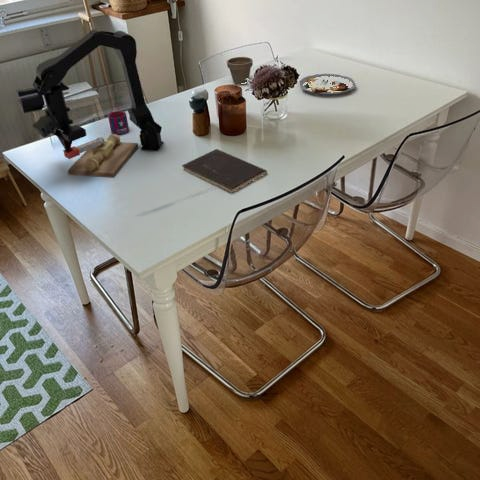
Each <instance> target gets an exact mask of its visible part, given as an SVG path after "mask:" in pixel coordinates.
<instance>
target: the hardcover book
mask: <svg viewBox="0 0 480 480" xmlns="http://www.w3.org/2000/svg"><path fill="white" fill-rule="evenodd" d="M181 167H183V170H184V171H185V170H186V171H185V172H188V173H190V174H191V173H192V174H191V175H193V174H194V175H193V176H195V175H196V177H198V178H200V179H201V180H204V181H206V180H207V181H206V182H208V183H210V184H212V185H213V186H216V185H217V186H216V187H218V186H219V187H218V188H220V187H221V188H220V189H222V188H223V189H222V190H224V189H225V190H224V191H226V190H227V191H226V192H228V191H229V192H228V193H230V192H231V193H230V194H233V193H235V192H236V191H235V190H237V189H238V190H240V189H242V188H243V187H242V186H244V185H246V184H247V185H249V184H251V183H252V182H251V181H253V180H255V179H256V180H258V179H260V178H262V177H263V176H262V175H264V174H265V175H267V174H268V173H267V172H268V170H267V169H265V168H262V167H260V166H258V165H256V164H253V163H252V162H248V161H246V160H244V159H241V158H239V157H237V156H234V155H232V154H230V153H227V152H224V151H222V150H220V149H218V148H215V149H213V150H211V151H209V152H207V153H205V154H203V155H201V156H199V157H197V158H195V159H192V160H190V161H188V162H186V163H184V164H183V165H181ZM265 175H264V176H265ZM261 176H262V177H261ZM259 177H260V178H259ZM257 178H258V179H257ZM256 180H255V181H256ZM250 182H251V183H250ZM253 182H254V181H253ZM248 183H249V184H248ZM247 185H246V186H247ZM241 187H242V188H241ZM244 187H245V186H244ZM239 188H240V189H239ZM238 190H237V191H238ZM234 191H235V192H234ZM232 192H233V193H232Z"/></svg>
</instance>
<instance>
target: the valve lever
mask: <svg viewBox="0 0 480 480" xmlns="http://www.w3.org/2000/svg"><path fill="white" fill-rule="evenodd" d="M105 141H106V140H105V138H104V137H103V136H101V137H97V138H95V139H92V140H91V141H87V142H85V143H83V144H80V145H78V146H71V148H68V149H66V150H65V149H62V152H63V155H64V158H67V160H70V159H73V158H75V157H78V156H80V155H81V153H85V152H86V151H87V150H90V149H92V148H95V147H97V146H100V145H103V144H105Z"/></svg>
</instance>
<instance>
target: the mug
mask: <svg viewBox="0 0 480 480" xmlns="http://www.w3.org/2000/svg"><path fill="white" fill-rule="evenodd" d="M127 116H128V115H127V113H126V111H123V110H117V111H109V113H108V115H107V117H108V123H109V129H110V131H111V134H116V135H118V136H122V135H126V134H128V133H129V132H130V128H129V122H128V117H127Z"/></svg>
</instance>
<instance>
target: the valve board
mask: <svg viewBox="0 0 480 480" xmlns="http://www.w3.org/2000/svg"><path fill="white" fill-rule="evenodd" d="M104 141H105V144H103V145H100V146H97V147H95V148H92V149H90V150H87V151H85V152H83V154H82V155H81V156H80V157H79V158H78V159H77V160H76V161H75V162H74V163H73V164H72V166H71V167H69V168H68V169H67V173H68V175H74V176H87V177H88V176H89V177H90V176H91V177H105V178H115V176H117V174H118V173H119V172H120V170H121V169H122V168H123V166H124V165H126V164H127V162H128V161H129V159H130V158H131V157H132V155H133V154H134V153H135V152H136V151H137V149H138V148H139V144H138V142H124V141H123V142H121V137H120V135H116V134H112V133H111V134H110V135H108V137H107V140H104Z"/></svg>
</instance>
